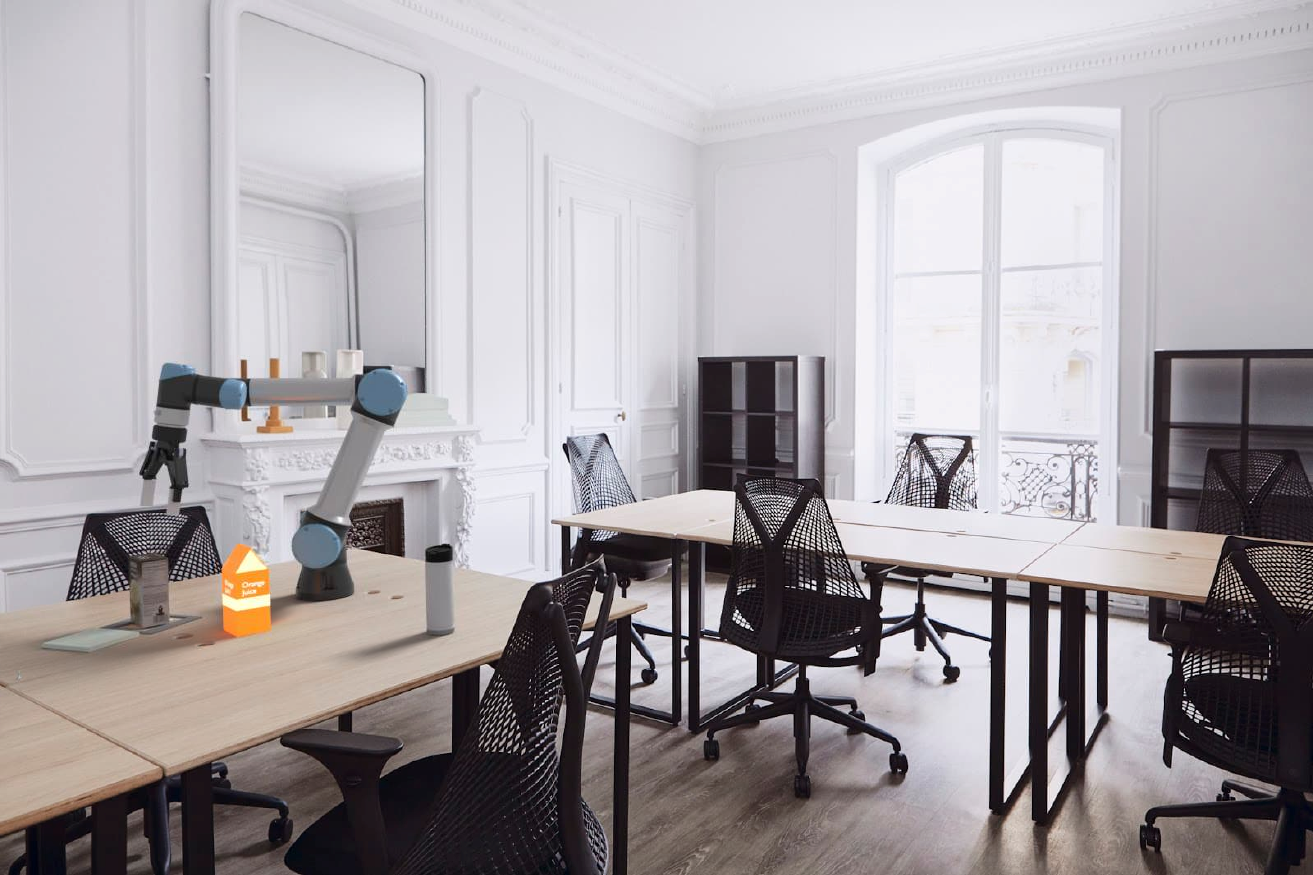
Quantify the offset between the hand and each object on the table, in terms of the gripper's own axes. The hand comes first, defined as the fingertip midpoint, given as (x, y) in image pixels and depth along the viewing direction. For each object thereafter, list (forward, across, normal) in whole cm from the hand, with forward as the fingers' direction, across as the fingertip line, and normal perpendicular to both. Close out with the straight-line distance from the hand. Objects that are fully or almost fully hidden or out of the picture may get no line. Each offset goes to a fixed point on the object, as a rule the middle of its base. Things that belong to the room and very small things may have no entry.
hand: (159, 510), depth 222 cm
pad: (+28, +13, -17) cm, 35 cm away
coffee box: (+26, +8, -2) cm, 27 cm away
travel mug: (+16, +71, +32) cm, 80 cm away
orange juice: (+23, +33, +8) cm, 41 cm away
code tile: (+26, +8, -2) cm, 27 cm away
